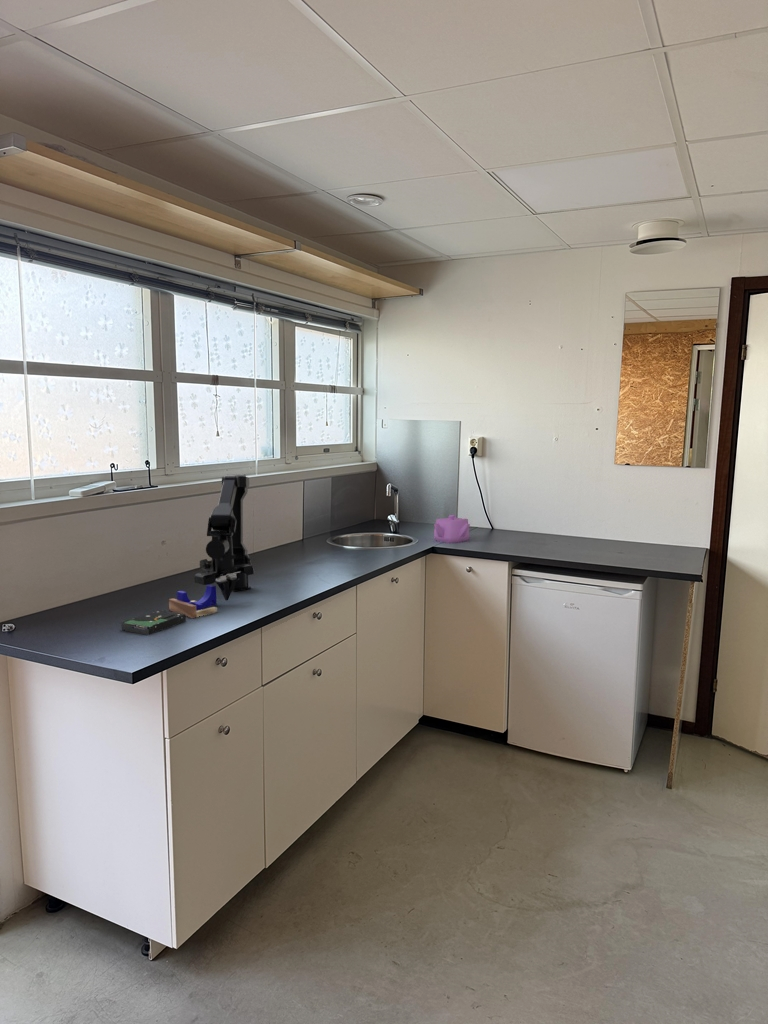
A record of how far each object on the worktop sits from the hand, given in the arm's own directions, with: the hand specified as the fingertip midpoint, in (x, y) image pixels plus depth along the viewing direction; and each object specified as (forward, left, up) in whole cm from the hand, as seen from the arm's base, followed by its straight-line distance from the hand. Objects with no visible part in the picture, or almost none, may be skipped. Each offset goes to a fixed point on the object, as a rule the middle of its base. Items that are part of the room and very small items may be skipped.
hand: (226, 600), depth 221 cm
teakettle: (-140, -19, -1) cm, 142 cm away
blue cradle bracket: (+9, -2, -1) cm, 9 cm away
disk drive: (+27, +5, -2) cm, 28 cm away
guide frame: (+11, 0, -1) cm, 11 cm away
